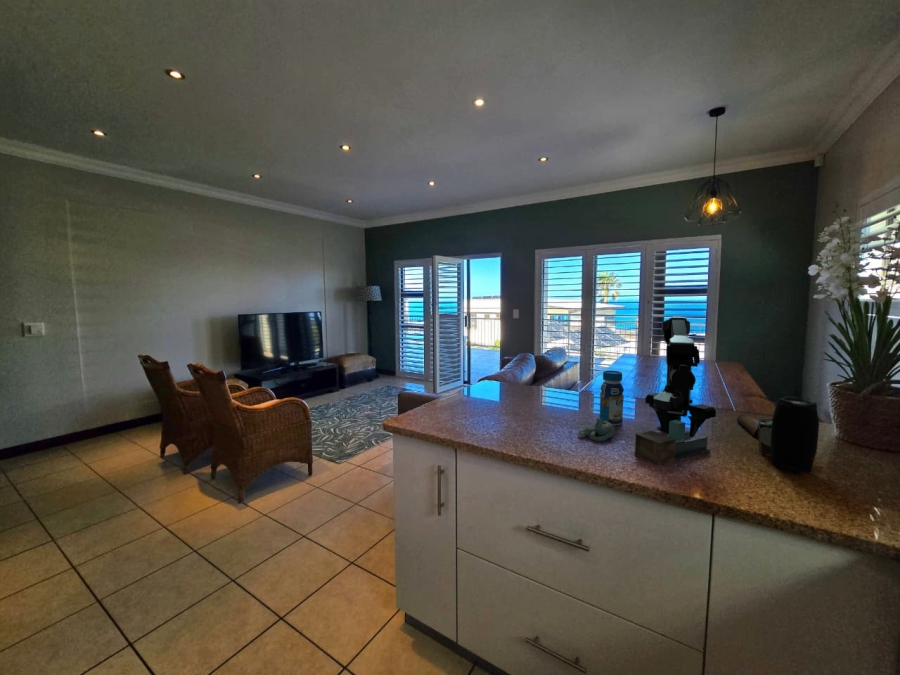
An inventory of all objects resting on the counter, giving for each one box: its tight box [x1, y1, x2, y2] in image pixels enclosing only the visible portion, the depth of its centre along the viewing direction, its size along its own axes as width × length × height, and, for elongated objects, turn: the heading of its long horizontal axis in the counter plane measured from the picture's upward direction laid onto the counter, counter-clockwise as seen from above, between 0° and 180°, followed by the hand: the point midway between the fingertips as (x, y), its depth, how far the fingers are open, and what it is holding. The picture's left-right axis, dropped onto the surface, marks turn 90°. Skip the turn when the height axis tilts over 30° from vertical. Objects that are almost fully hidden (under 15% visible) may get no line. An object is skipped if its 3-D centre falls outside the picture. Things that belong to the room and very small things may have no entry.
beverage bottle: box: [599, 370, 625, 426], centre depth 139 cm, size 8×8×20 cm
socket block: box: [634, 430, 676, 466], centre depth 107 cm, size 7×8×7 cm
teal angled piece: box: [668, 420, 686, 443], centre depth 109 cm, size 13×4×8 cm, turn 113°
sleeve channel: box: [666, 430, 711, 462], centre depth 112 cm, size 16×8×4 cm, turn 113°
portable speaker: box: [771, 396, 820, 475], centre depth 99 cm, size 9×9×20 cm
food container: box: [755, 417, 773, 456], centre depth 111 cm, size 12×6×10 cm, turn 71°
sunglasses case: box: [736, 414, 759, 439], centre depth 129 cm, size 18×7×7 cm, turn 157°
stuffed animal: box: [578, 417, 615, 442], centre depth 124 cm, size 11×7×12 cm
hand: (676, 432), depth 111 cm, fingers open, 9 cm apart
